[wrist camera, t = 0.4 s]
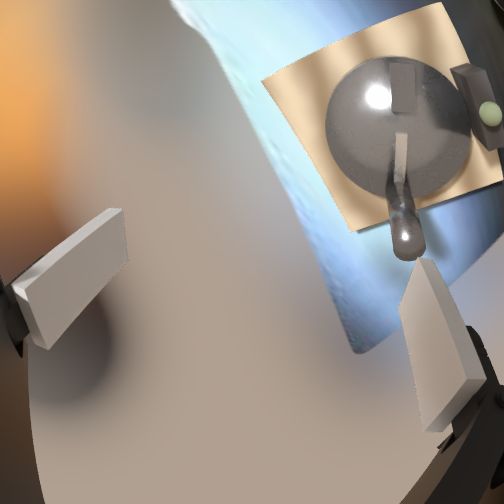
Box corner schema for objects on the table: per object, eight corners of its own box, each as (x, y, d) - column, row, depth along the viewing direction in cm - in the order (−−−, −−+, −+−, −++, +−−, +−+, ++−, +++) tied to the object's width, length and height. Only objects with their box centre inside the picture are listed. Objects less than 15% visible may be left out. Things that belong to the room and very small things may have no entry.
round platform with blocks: (431, 35, 22) (474, 43, 14) (480, 166, 29) (519, 226, 21) (298, 91, 31) (277, 124, 22) (363, 208, 38) (364, 276, 29)
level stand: (435, 3, 21) (463, -2, 15) (497, 172, 31) (524, 209, 24) (264, 78, 33) (243, 94, 26) (351, 223, 42) (349, 267, 36)
